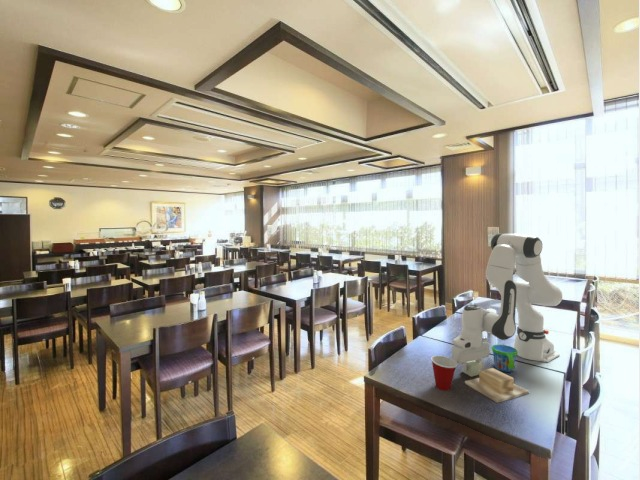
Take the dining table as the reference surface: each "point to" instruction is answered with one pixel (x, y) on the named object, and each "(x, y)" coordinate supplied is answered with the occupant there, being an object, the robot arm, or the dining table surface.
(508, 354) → the snack cup
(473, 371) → the sage cube
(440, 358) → the plastic cup
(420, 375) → the dining table surface
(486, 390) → the foundation base
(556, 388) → the dining table surface
